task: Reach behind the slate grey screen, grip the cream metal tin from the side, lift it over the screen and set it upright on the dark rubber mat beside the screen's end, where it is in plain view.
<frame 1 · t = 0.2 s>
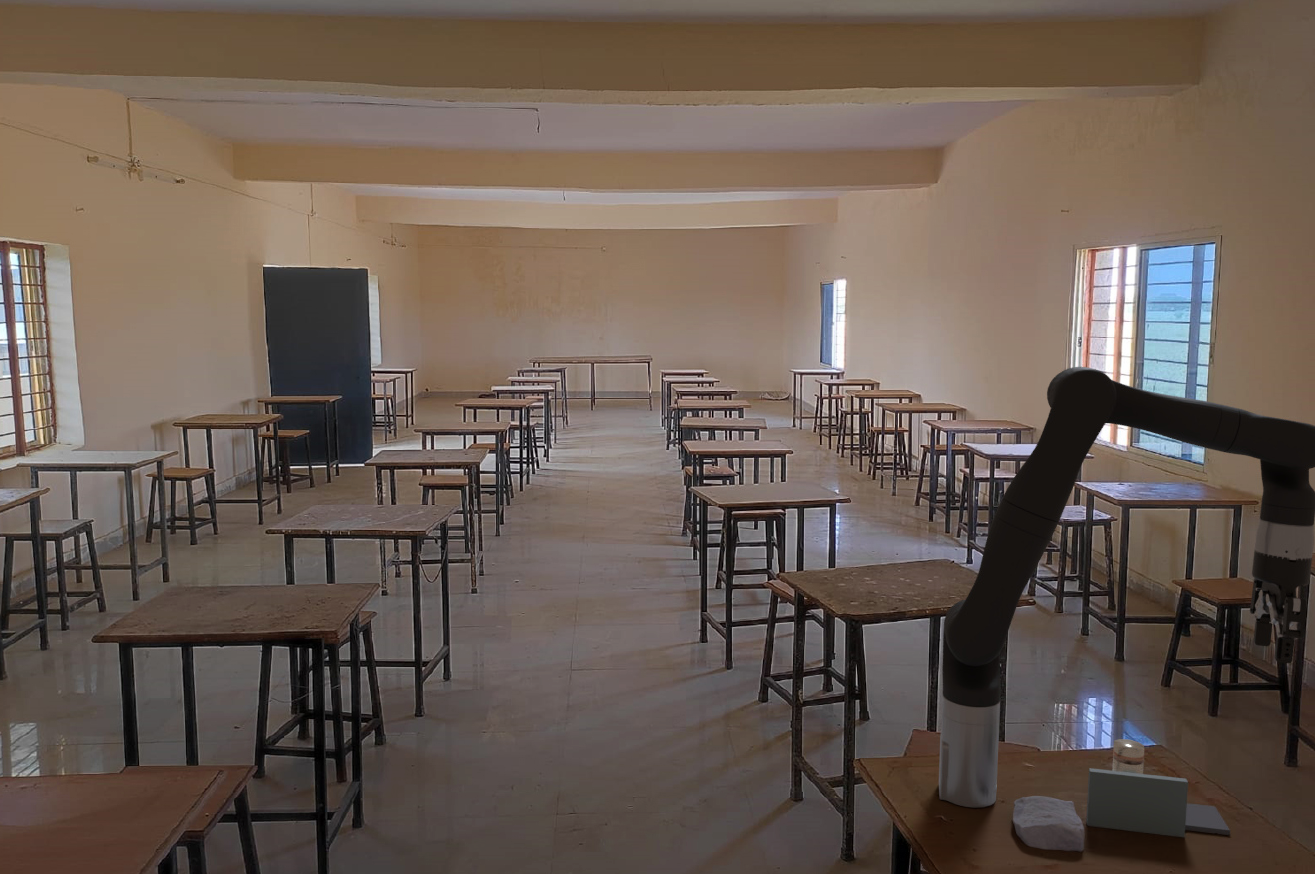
hand: (1272, 653, 151), 29 cm above the table, tool pointing down, fingers open, 8 cm apart
dark rubber mat: (1194, 819, 156), on the table
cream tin: (1125, 808, 160), on the table
slate screen: (1134, 829, 153), on the table
stone block: (1044, 833, 153), on the table
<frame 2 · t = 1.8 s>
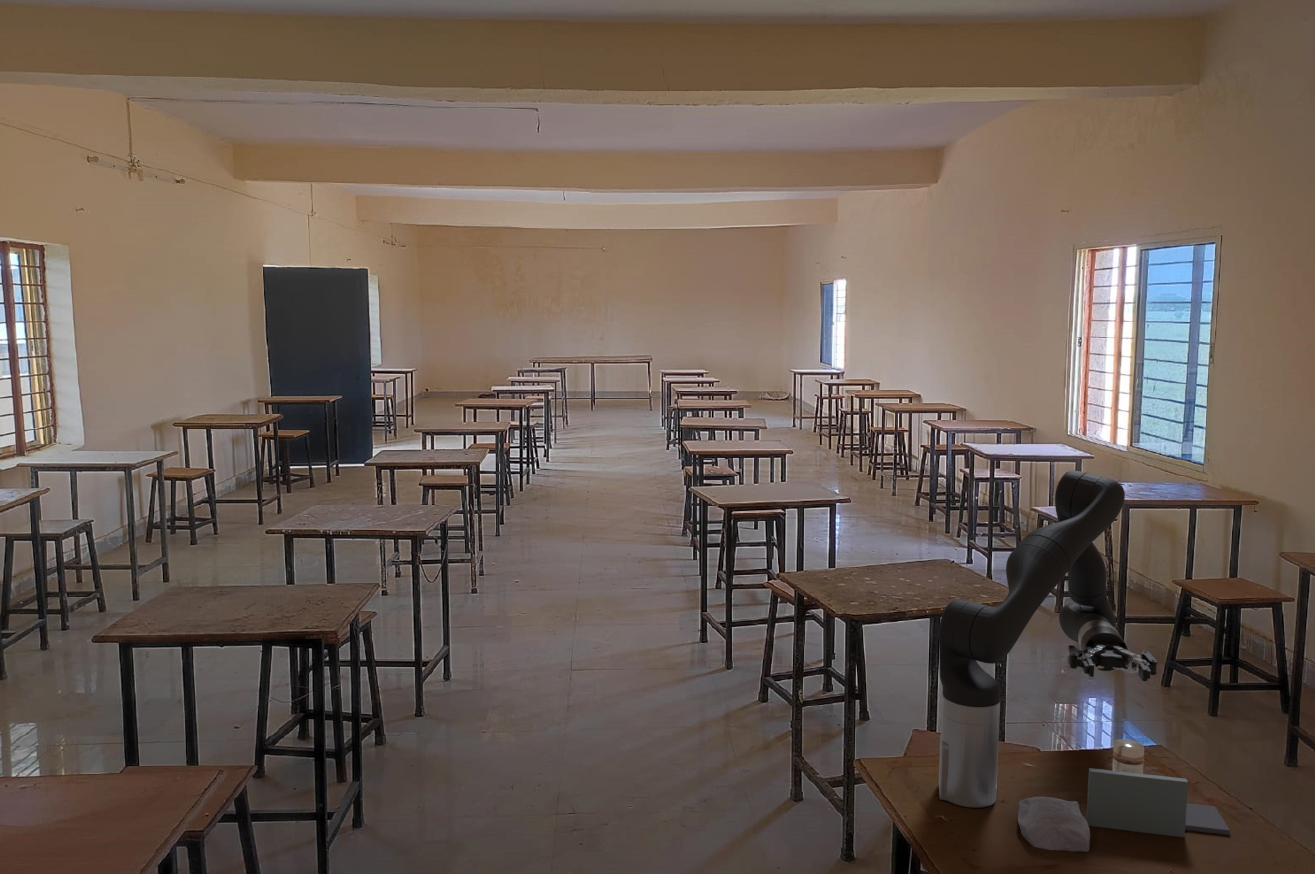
hand: (1118, 673, 169), 19 cm above the table, tool horizontal, fingers open, 8 cm apart
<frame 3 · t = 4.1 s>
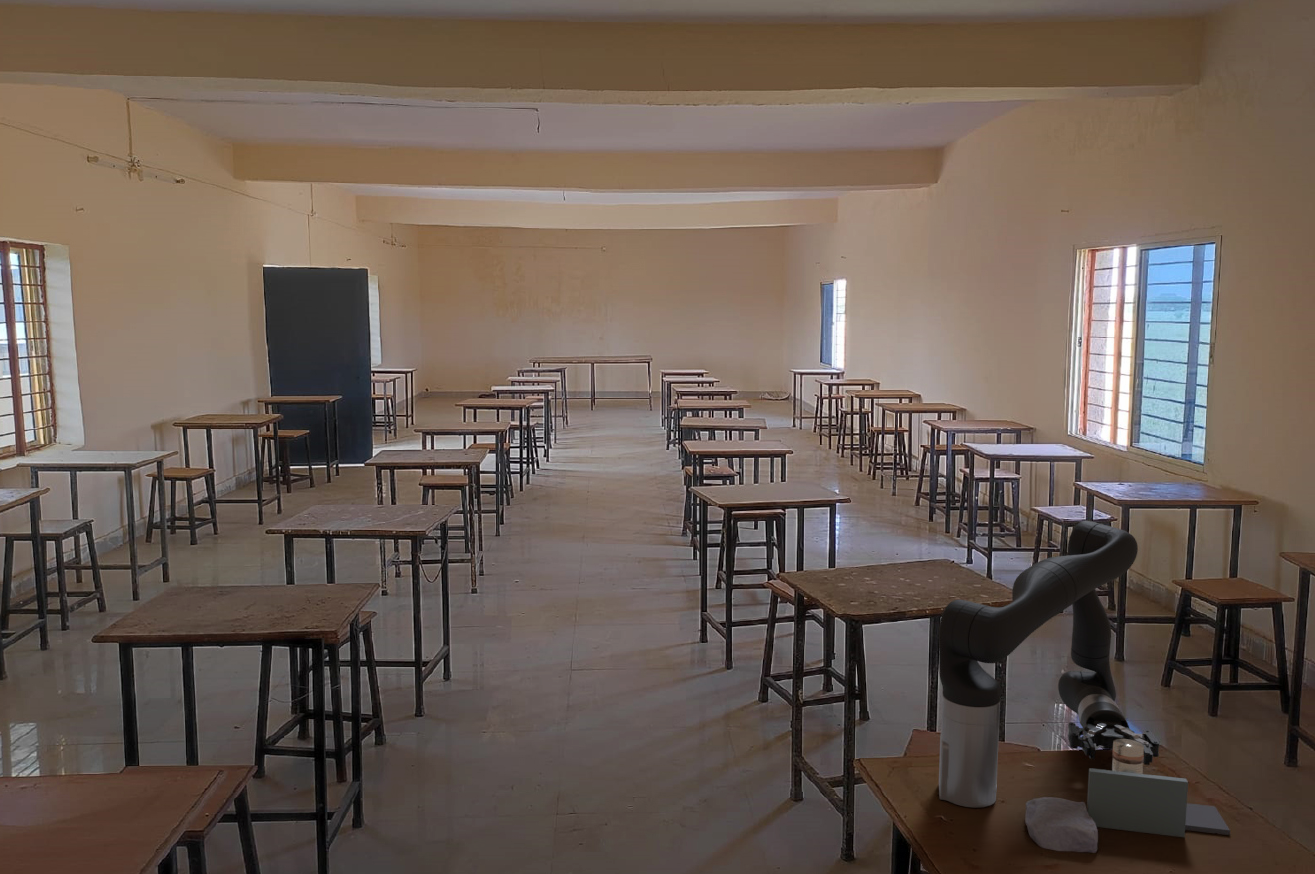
hand: (1120, 756, 165), 6 cm above the table, tool horizontal, fingers open, 8 cm apart
stone block: (1056, 834, 152), on the table
everything else where it was.
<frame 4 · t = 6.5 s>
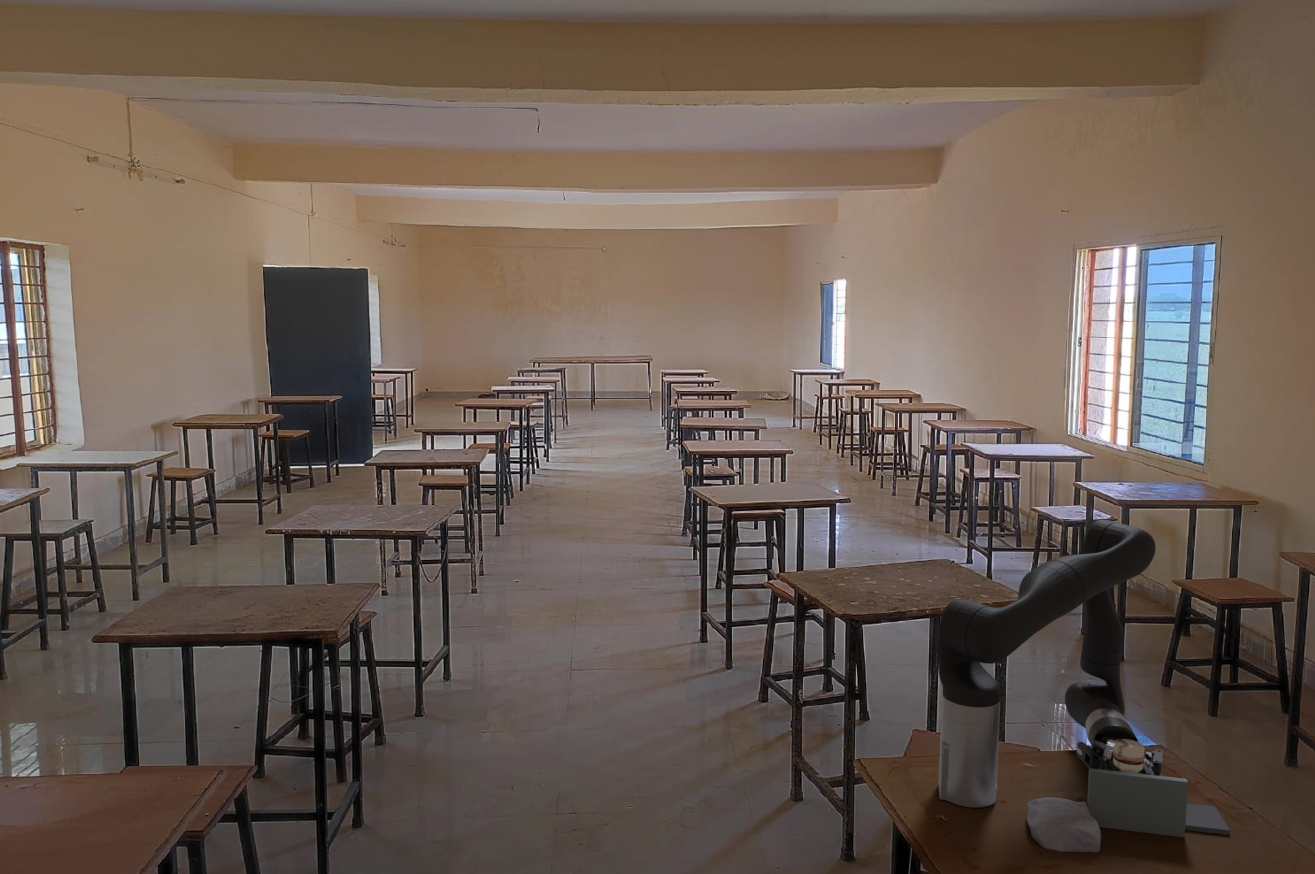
hand: (1131, 777, 157), 7 cm above the table, tool horizontal, fingers closed on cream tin, 4 cm apart
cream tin: (1125, 808, 160), on the table, touching gripper
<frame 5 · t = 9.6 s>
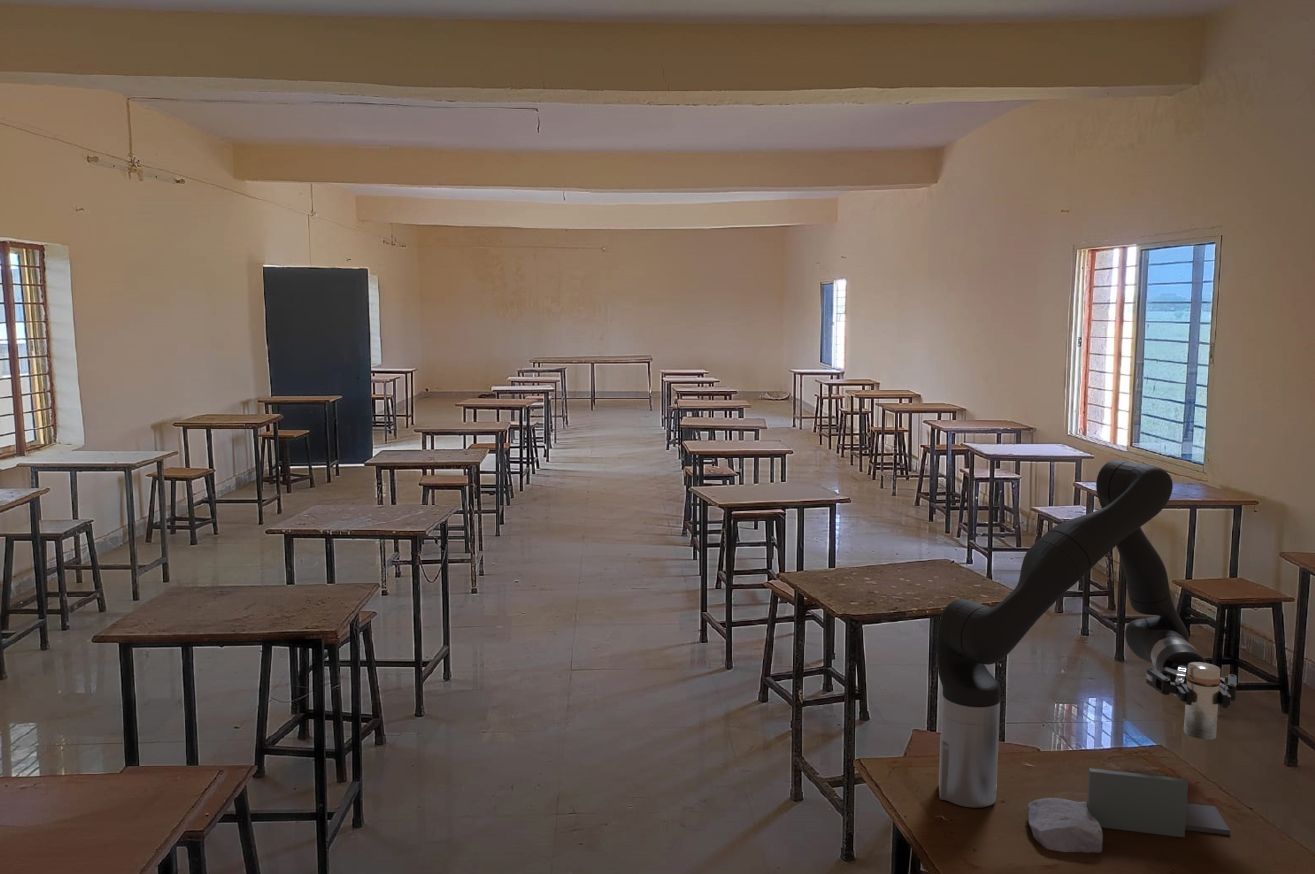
hand: (1207, 700, 152), 21 cm above the table, tool horizontal, fingers closed on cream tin, 4 cm apart
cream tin: (1199, 733, 155), point 14 cm above the table, touching gripper
stone block: (1060, 835, 152), on the table, touching slate screen
when the fingers open (8 cm above the table, at t = 12.6 s): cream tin stays where it is, resting on dark rubber mat.
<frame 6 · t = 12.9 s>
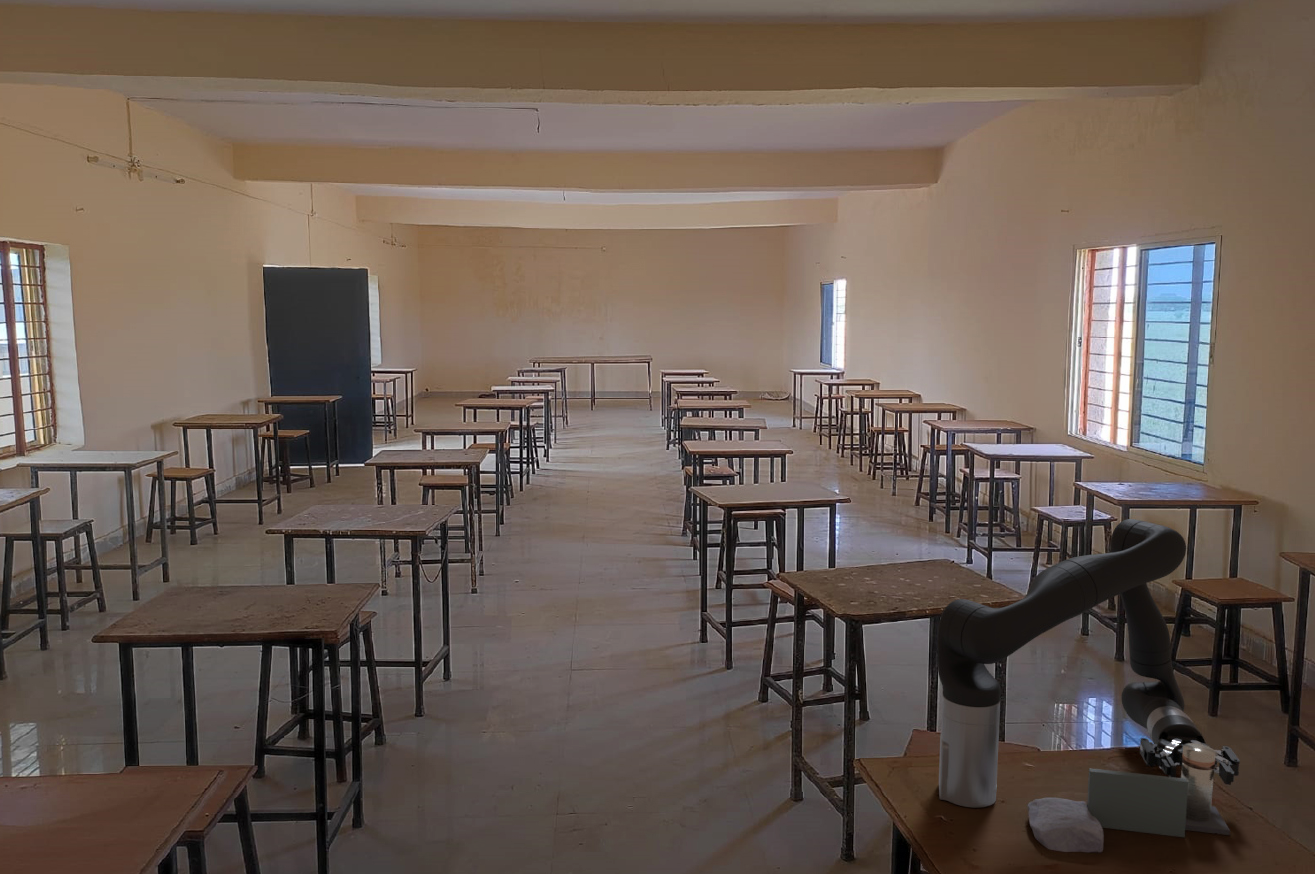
hand: (1201, 775, 153), 8 cm above the table, tool horizontal, fingers open, 7 cm apart
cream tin: (1194, 814, 156), point 1 cm above the table, touching dark rubber mat
stone block: (1060, 835, 152), on the table
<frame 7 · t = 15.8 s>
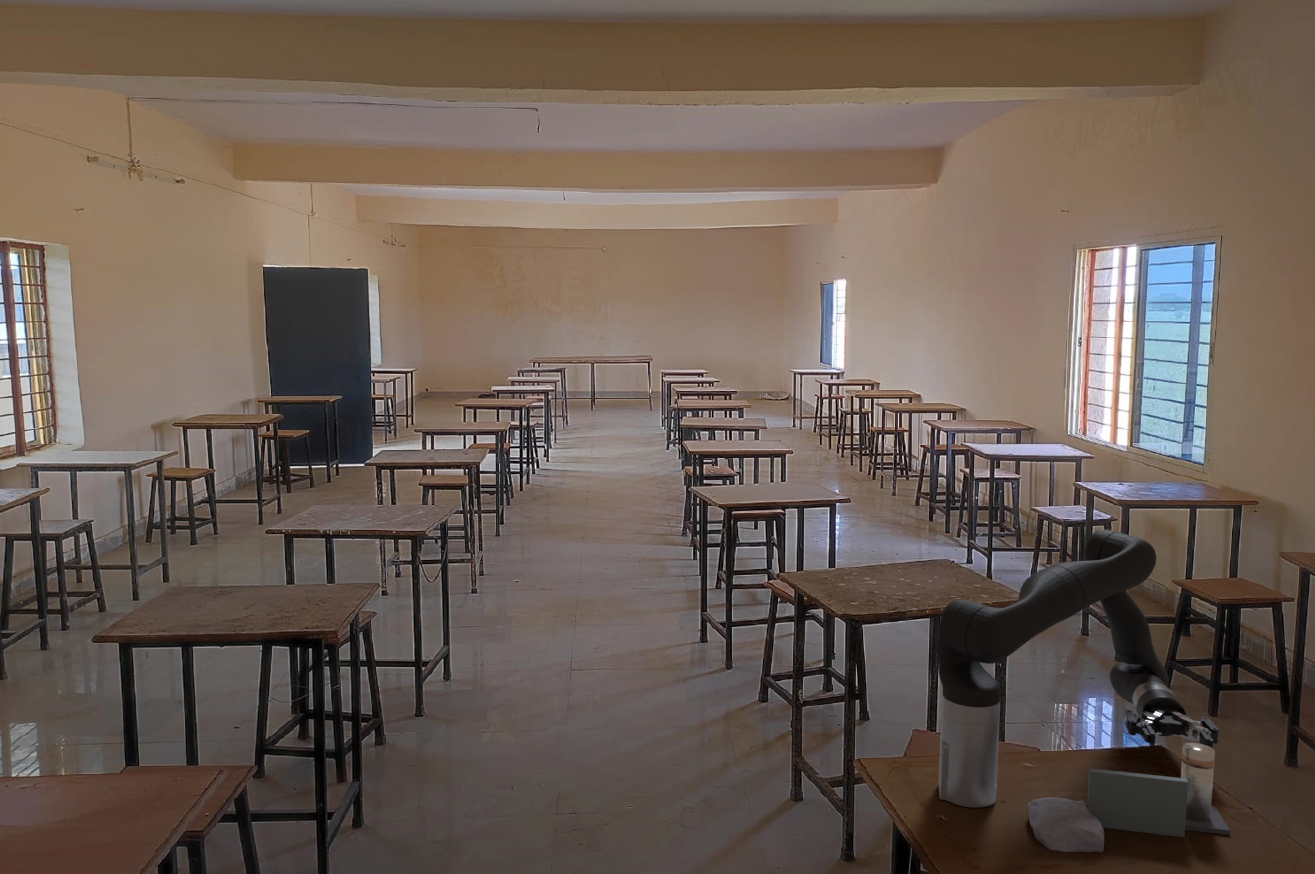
hand: (1180, 742, 166), 8 cm above the table, tool horizontal, fingers open, 8 cm apart
nothing on the table moved.
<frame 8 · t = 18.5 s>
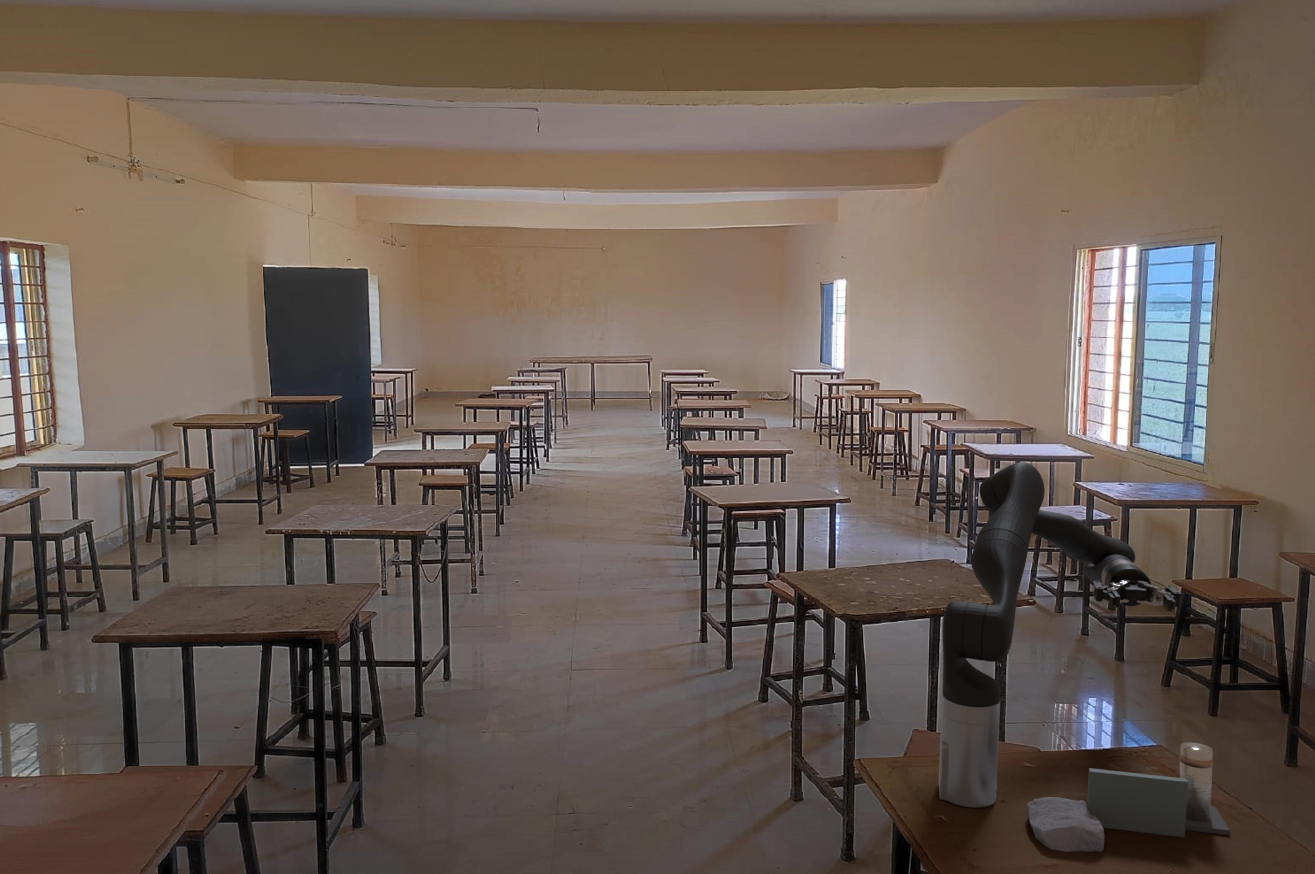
hand: (1144, 604, 173), 30 cm above the table, tool horizontal, fingers open, 8 cm apart
nothing on the table moved.
at the end: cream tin 0.1 cm off-centre on the dark rubber mat, point 0.9 cm above the dark rubber mat's base; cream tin tilted 2°; the gripper is holding nothing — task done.
